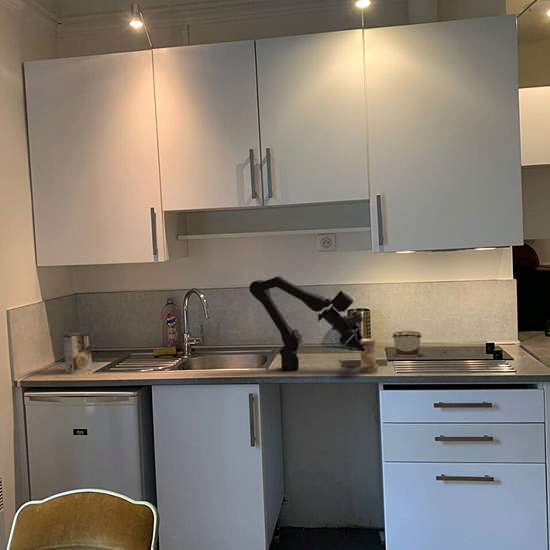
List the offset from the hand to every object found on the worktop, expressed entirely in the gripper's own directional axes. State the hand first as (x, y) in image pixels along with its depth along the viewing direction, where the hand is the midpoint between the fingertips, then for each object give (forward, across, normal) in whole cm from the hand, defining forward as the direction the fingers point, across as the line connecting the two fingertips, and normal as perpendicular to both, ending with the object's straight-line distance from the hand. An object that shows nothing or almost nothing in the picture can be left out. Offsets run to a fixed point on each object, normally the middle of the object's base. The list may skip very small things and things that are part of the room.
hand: (365, 348), depth 236 cm
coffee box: (-80, -9, +91) cm, 121 cm away
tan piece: (+7, 0, +6) cm, 9 cm away
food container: (+17, +29, -4) cm, 34 cm away
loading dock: (+4, +14, +8) cm, 16 cm away
